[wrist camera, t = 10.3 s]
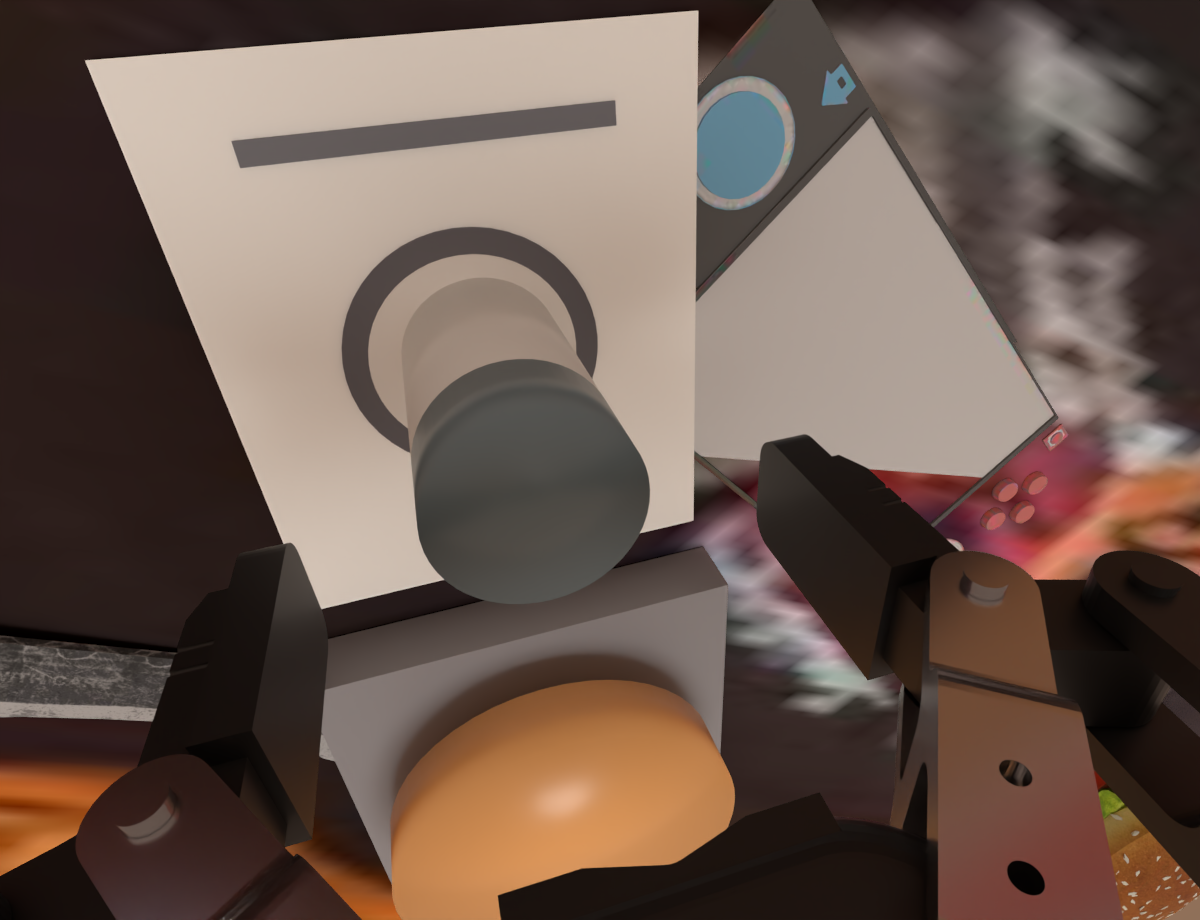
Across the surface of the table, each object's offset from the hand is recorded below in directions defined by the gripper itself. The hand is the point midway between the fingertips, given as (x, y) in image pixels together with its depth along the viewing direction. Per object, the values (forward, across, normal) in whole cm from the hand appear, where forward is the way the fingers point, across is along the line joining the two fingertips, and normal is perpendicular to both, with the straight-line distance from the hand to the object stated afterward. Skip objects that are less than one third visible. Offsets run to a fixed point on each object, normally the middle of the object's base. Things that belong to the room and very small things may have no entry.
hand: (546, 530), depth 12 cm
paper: (+8, 0, 0) cm, 8 cm away
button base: (+8, 0, +15) cm, 17 cm away
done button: (+4, 0, +15) cm, 15 cm away
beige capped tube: (+7, 0, 0) cm, 7 cm away
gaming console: (+8, -12, +4) cm, 15 cm away
